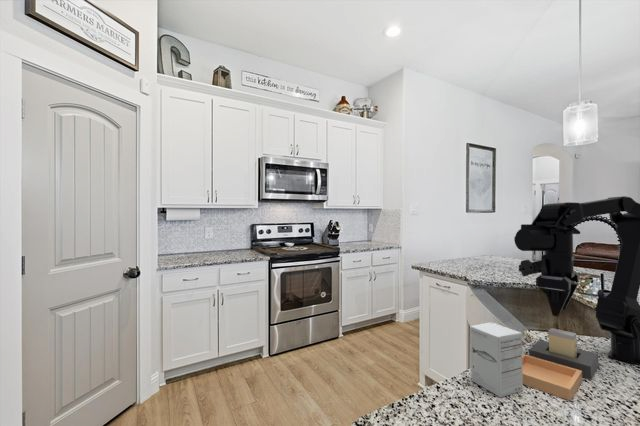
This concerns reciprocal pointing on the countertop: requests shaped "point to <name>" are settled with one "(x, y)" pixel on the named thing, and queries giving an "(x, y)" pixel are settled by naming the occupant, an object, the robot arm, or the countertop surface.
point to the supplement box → (496, 358)
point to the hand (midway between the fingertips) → (559, 312)
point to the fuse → (562, 342)
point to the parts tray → (550, 377)
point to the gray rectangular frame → (567, 358)
